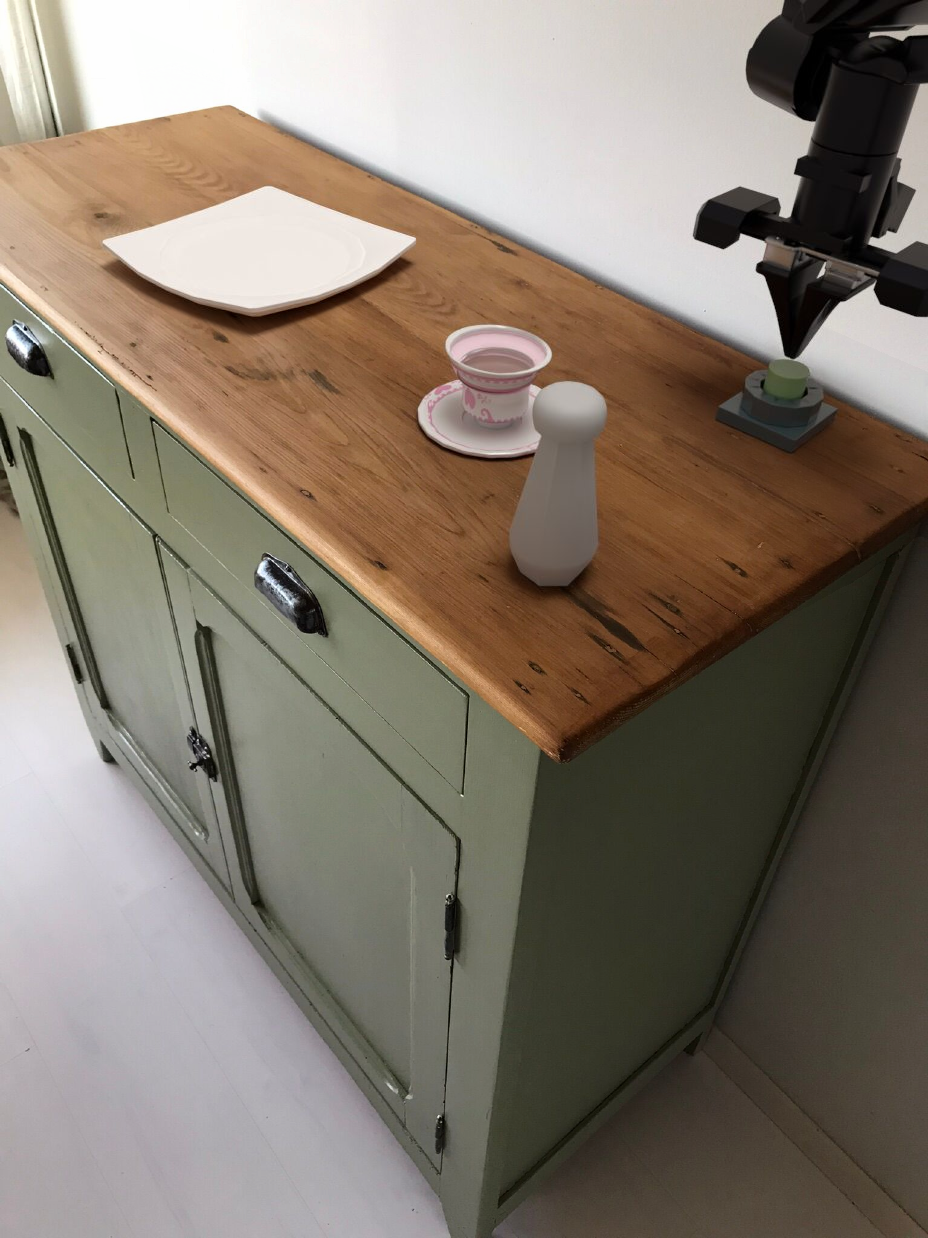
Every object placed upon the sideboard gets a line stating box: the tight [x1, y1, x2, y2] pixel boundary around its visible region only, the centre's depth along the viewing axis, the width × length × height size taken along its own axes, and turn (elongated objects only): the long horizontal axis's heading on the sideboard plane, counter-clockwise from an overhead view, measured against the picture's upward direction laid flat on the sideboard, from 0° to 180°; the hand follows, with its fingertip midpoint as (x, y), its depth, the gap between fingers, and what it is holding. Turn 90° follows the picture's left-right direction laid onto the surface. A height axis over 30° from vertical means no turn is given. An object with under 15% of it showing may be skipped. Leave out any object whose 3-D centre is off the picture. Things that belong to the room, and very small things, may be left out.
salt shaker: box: [508, 380, 608, 587], centre depth 59 cm, size 6×6×13 cm
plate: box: [101, 185, 417, 317], centre depth 96 cm, size 24×24×3 cm
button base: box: [715, 368, 839, 454], centre depth 77 cm, size 7×7×3 cm
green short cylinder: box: [763, 358, 811, 400], centre depth 76 cm, size 3×3×2 cm
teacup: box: [417, 324, 553, 459], centre depth 75 cm, size 12×12×6 cm
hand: (792, 356), depth 75 cm, fingers closed
